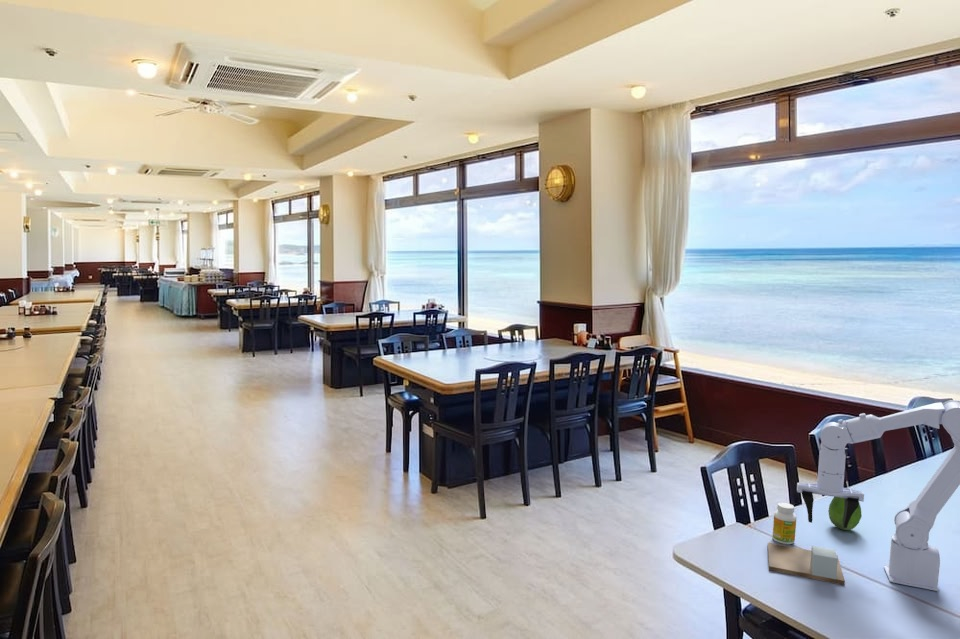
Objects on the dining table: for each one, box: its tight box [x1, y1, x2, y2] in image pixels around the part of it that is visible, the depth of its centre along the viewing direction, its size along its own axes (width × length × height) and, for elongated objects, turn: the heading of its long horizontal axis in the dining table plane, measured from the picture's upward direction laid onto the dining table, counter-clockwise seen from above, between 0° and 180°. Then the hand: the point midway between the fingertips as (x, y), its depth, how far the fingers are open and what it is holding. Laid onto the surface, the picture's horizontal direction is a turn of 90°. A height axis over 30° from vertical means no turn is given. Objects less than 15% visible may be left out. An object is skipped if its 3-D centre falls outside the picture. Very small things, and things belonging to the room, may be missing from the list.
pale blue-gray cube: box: [810, 545, 839, 579], centre depth 149 cm, size 5×5×5 cm
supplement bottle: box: [772, 502, 797, 545], centre depth 168 cm, size 5×5×10 cm
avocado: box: [828, 487, 862, 531], centre depth 177 cm, size 8×8×12 cm
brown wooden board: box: [767, 542, 846, 586], centre depth 155 cm, size 16×14×1 cm
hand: (827, 523), depth 158 cm, fingers open, 7 cm apart
